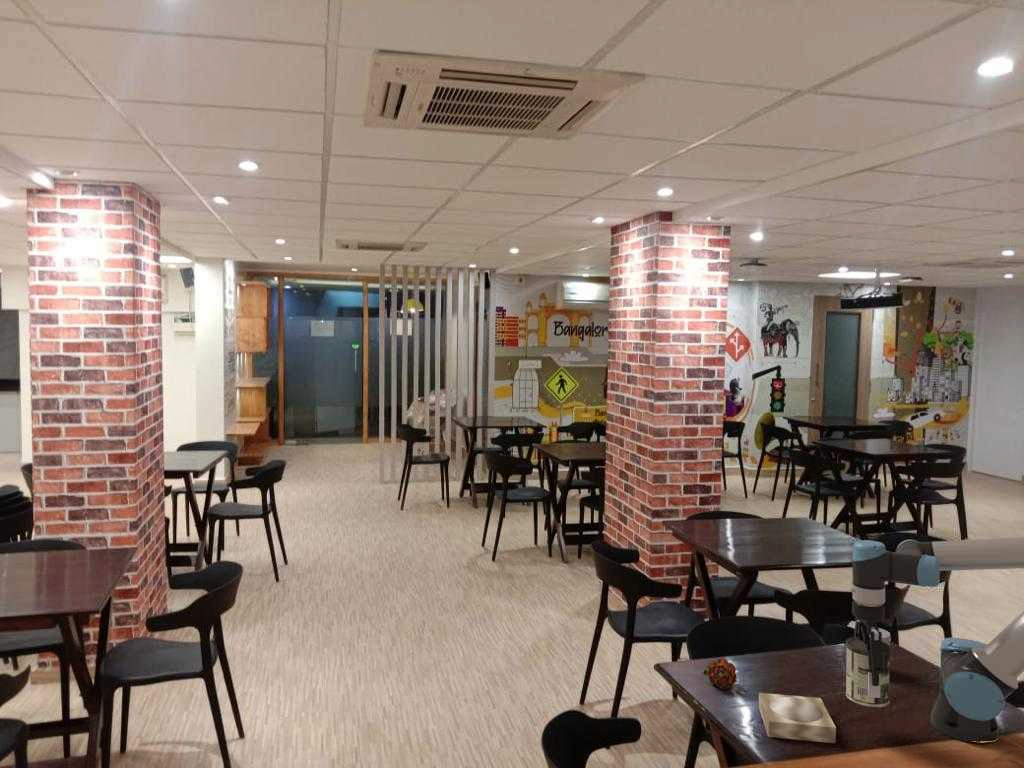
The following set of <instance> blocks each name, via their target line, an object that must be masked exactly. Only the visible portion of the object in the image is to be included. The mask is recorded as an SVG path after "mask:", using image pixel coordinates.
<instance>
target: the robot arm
mask: <svg viewBox="0 0 1024 768" xmlns="http://www.w3.org/2000/svg"><path fill="white" fill-rule="evenodd" d="M1009 569H1011V570H1012V569H1024V536H1021V537H1020V536H1019V537H1004V538H1003V537H1002V538H1001V537H999V538H981V539H980V538H979V539H961V540H945V541H944V540H940V541H939V540H938V541H922V542H920V541H917V540H916V539H905V540H903V541H902V542H900V543H899V544H898V545H897V547H896V550H895V552H893V551H888V550H887V549H886V545H885V544H884V543H883V542H881V541H875V540H870V539H869V540H868V539H866V540H865V539H864V540H857V541H855V542H854V543H853V546H852V588H850V592H851V593H852V599H853V601H852V603H851V605H852V606H851V613H852V616H853V617H855V625H854V633H853V638H854V637H858V639H859V640H864V643H865V644H866V647H867V651H871V655H870V654H869V669H868V670H867V672H868V697H873V698H880V674H881V673H882V674H884V667H883V654H882V633H881V632H879V628H880V627H879V626H878V625H877V623H878V622H882V621H884V619H885V613H886V611H885V610H886V609H885V607H886V606H885V603H886V582H888V583H896V584H903V585H910V586H911V585H912V586H920V587H923V588H925V587H928V588H929V587H932V588H937V587H938V586H939V585H940V582H941V581H940V580H941V579H940V576H941V572H943V571H946V572H947V571H948V572H949V571H973V570H975V571H976V570H977V571H978V570H979V571H981V570H1009ZM940 643H941V644H940V645H941V646H940V648H939V650H940V666H939V667H940V668H939V694H938V696H937V698H936V701H935V702H934V705H933V708H932V710H931V712H930V724H931V725H932V726H933V727H934V728H935V729H936V730H937V731H939V732H940V733H942V734H943V735H946V736H947V737H949V738H950V737H951V738H953V739H956V740H958V741H961V742H962V741H963V742H966V741H976V742H977V741H978V742H980V741H993V740H996V739H997V738H998V737H999V738H1000V727H999V723H998V720H997V717H998V716H999V715H1000V714H1001V713H1002V711H1003V709H1004V706H1005V700H1006V698H1008V697H1009V696H1010V695H1011V694H1012V693H1014V692H1015V691H1016V689H1018V688H1019V683H1018V678H1019V676H1020V675H1021V674H1023V673H1024V610H1023V611H1022V612H1020V613H1019V615H1017V616H1016V618H1014V619H1013V620H1012V621H1011V622H1010V623H1009V624H1008V625H1006V626H1005V628H1004V629H1003V630H1001V631H1000V632H999V633H998V634H997V635H996V636H995V637H994V638H992V640H990V641H989V642H988V644H987V643H984V642H981V641H979V640H972V639H968V638H963V637H961V638H960V637H946V638H944V639H942V640H941V642H940Z"/></svg>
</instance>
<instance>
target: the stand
mask: <svg viewBox="0 0 1024 768" xmlns="http://www.w3.org/2000/svg"><path fill="white" fill-rule="evenodd" d="M758 710H759V712H760V713H759V714H760V715H761V718H762V721H763V725H764V727H765V730H766V733H767V736H768V737H769V738H775V739H776V738H779V739H786V740H787V739H789V740H797V741H807V742H819V743H830V744H836V742H837V741H836V740H837V739H836V738H837V737H836V734H837V727H836V725H835V722H833V719H832V718H831V715H830V714H829V712H828V710H827V708H826V706H825V704H824V702H823V700H822V698H821V697H812V696H811V697H810V696H801V695H789V694H779V693H778V694H777V693H767V692H766V693H764V692H758Z"/></svg>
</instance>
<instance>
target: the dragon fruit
mask: <svg viewBox="0 0 1024 768" xmlns="http://www.w3.org/2000/svg"><path fill="white" fill-rule="evenodd" d="M705 668H707V669H703V670H702V674H703V675H704V676H707V677H708V681H709V682H710V683H711V684H712V685H713V686H716V687H718V688H720V689H722V690H726V689H729V688H731V687H732V686H733V685H735V683H737V682H738V678H737V673H736V672H737V671H736V670H737V669H736V666H735V665H734V664H733V663H732V662H729V661H728V659H726V658H724V657H719V658H718V659H717V660H715V659H714V660H711V661H710V662H708V665H706V666H705Z"/></svg>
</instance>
